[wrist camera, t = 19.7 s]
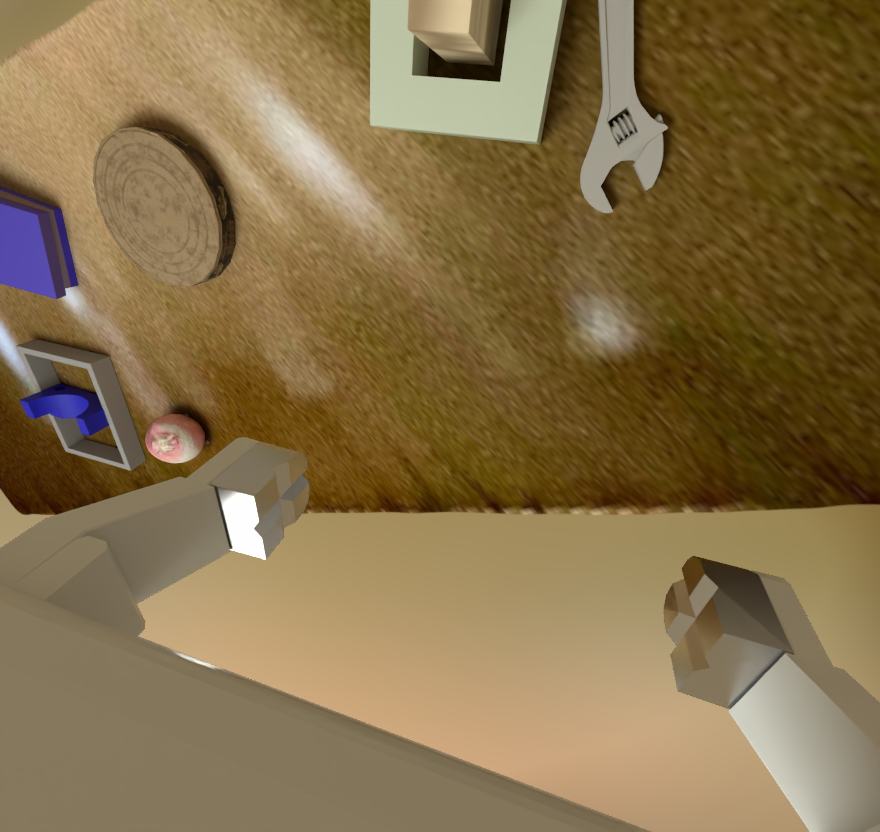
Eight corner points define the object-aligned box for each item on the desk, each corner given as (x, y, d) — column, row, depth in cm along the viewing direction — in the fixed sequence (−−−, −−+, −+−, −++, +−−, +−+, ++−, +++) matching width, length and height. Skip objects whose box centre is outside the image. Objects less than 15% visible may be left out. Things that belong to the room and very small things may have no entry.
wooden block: (503, -2, 32) (477, -60, 24) (494, 65, 34) (468, 33, 26) (453, -4, 33) (411, -62, 25) (447, 62, 35) (407, 29, 27)
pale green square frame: (585, -99, 29) (586, -134, 25) (540, 144, 36) (536, 142, 33) (392, -99, 31) (371, -130, 28) (387, 129, 39) (370, 125, 35)
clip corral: (109, 356, 63) (90, 364, 61) (146, 460, 74) (131, 470, 72) (36, 339, 66) (15, 345, 63) (82, 442, 77) (65, 451, 74)
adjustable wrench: (583, -223, 27) (584, -246, 25) (699, -273, 25) (707, -301, 23) (579, 212, 38) (580, 213, 37) (658, 201, 36) (662, 202, 35)
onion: (209, 410, 65) (189, 442, 59) (215, 445, 70) (197, 478, 64) (153, 402, 64) (127, 434, 58) (163, 439, 68) (140, 472, 63)
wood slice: (224, 137, 43) (203, 135, 41) (247, 291, 52) (230, 297, 49) (99, 121, 46) (72, 119, 44) (139, 270, 54) (118, 275, 52)
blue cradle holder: (68, 406, 72) (31, 424, 67) (59, 383, 70) (19, 400, 65) (127, 424, 70) (92, 443, 65) (119, 401, 68) (83, 419, 63)
